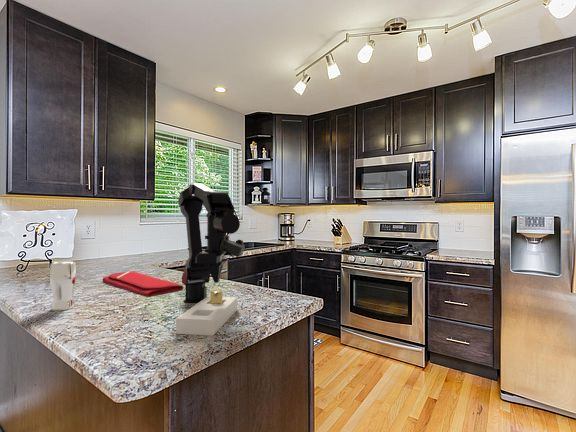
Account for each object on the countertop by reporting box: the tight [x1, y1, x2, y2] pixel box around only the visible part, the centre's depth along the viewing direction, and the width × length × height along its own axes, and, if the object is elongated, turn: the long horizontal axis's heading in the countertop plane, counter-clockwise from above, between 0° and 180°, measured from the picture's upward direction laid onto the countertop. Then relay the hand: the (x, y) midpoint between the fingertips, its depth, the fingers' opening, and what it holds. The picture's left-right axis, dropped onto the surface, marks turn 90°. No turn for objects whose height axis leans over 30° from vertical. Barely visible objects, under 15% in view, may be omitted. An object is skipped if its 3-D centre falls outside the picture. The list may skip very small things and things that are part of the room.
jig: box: [175, 296, 238, 337], centre depth 92 cm, size 10×22×4 cm, turn 173°
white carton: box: [49, 260, 77, 312], centre depth 103 cm, size 7×7×15 cm
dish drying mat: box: [102, 270, 184, 297], centre depth 137 cm, size 16×41×4 cm, turn 52°
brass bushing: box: [210, 290, 223, 304], centre depth 98 cm, size 4×4×7 cm
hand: (216, 282), depth 98 cm, fingers closed
